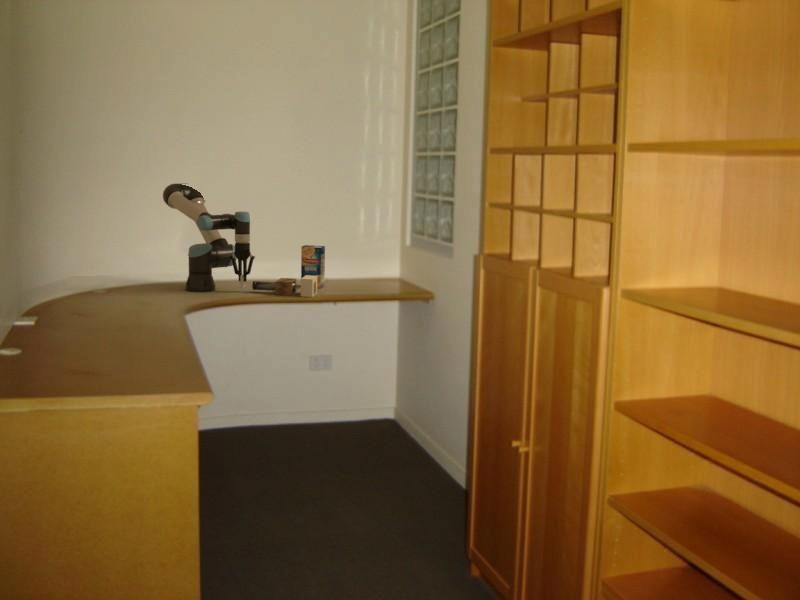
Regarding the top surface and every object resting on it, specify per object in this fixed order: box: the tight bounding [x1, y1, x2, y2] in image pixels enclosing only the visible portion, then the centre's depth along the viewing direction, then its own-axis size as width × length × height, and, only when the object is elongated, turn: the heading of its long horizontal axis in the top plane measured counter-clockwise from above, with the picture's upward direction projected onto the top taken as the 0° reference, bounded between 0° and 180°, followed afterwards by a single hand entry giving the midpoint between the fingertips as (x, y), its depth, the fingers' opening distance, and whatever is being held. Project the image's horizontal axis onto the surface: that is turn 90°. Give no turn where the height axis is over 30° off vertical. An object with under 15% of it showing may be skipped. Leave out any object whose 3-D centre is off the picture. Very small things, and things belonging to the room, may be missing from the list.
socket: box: [300, 275, 318, 298], centre depth 465 cm, size 6×12×9 cm, turn 174°
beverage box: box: [300, 244, 326, 290], centre depth 487 cm, size 7×11×22 cm, turn 77°
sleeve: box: [274, 277, 297, 297], centre depth 466 cm, size 8×12×7 cm, turn 174°
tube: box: [251, 280, 298, 293], centre depth 467 cm, size 22×4×4 cm, turn 84°
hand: (242, 287), depth 469 cm, fingers closed
